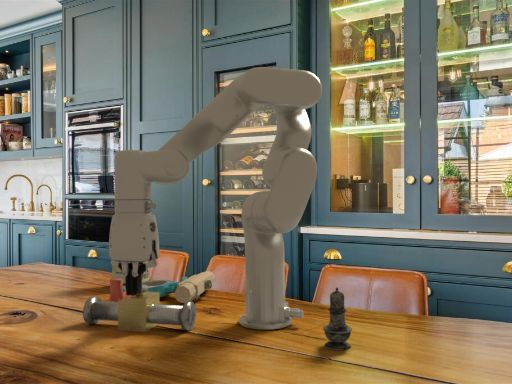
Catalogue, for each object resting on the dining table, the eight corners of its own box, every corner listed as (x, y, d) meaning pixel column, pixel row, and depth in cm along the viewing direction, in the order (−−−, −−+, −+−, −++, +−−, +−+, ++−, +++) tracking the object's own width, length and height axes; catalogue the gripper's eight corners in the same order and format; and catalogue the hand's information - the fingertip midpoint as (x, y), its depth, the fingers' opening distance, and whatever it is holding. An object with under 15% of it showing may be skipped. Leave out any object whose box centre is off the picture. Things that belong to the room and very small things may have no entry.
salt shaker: (332, 339, 97) (331, 283, 97) (357, 345, 93) (356, 286, 93) (317, 346, 93) (316, 287, 93) (343, 353, 89) (342, 291, 89)
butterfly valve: (97, 316, 128) (199, 308, 122) (94, 292, 128) (196, 283, 122) (139, 295, 154) (224, 287, 148) (136, 275, 154) (222, 266, 148)
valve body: (196, 325, 108) (196, 291, 108) (185, 334, 102) (184, 298, 102) (99, 319, 115) (98, 287, 115) (82, 327, 108) (81, 293, 108)
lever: (135, 289, 110) (135, 269, 110) (150, 290, 110) (150, 270, 110) (104, 302, 98) (104, 280, 98) (121, 303, 97) (121, 281, 97)
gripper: (172, 207, 99) (173, 292, 99) (114, 207, 104) (115, 288, 104) (154, 209, 92) (154, 300, 92) (92, 208, 96) (93, 295, 96)
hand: (133, 294), depth 98 cm, fingers closed
